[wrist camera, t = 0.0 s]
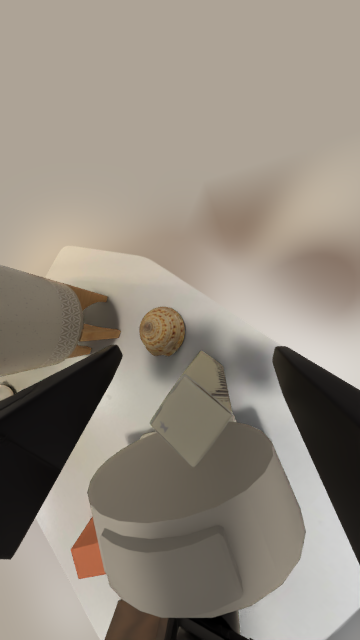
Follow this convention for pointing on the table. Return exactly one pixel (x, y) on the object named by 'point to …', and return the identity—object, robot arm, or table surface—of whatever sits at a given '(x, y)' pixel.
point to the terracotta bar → (87, 553)
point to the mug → (5, 392)
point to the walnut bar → (135, 624)
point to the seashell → (162, 331)
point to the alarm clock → (196, 524)
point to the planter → (43, 321)
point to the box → (195, 409)
